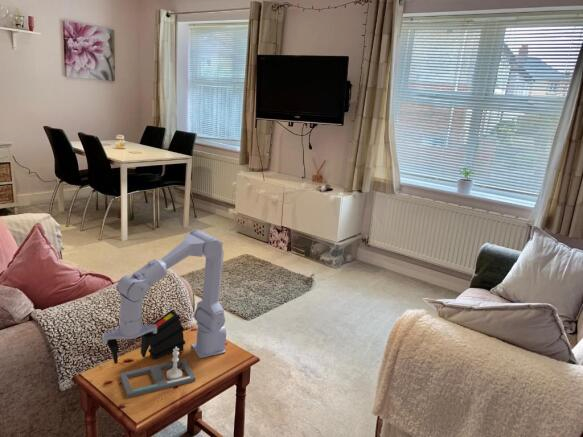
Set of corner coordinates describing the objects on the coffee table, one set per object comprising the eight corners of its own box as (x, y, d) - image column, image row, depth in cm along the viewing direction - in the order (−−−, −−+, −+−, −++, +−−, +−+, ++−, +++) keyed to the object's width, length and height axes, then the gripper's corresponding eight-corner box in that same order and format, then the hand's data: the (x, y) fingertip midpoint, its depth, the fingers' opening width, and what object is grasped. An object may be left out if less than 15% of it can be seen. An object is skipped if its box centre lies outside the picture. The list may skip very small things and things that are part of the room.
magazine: (192, 343, 149) (178, 313, 140) (159, 369, 142) (142, 339, 134) (187, 338, 151) (172, 308, 143) (154, 363, 145) (137, 333, 136)
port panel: (184, 362, 141) (185, 358, 141) (195, 380, 133) (195, 377, 133) (120, 376, 130) (120, 372, 130) (127, 397, 123) (127, 394, 122)
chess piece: (164, 371, 136) (166, 343, 133) (180, 368, 138) (182, 341, 135) (167, 381, 131) (169, 353, 128) (183, 378, 133) (186, 350, 131)
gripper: (152, 305, 128) (150, 345, 132) (100, 314, 120) (99, 356, 124) (160, 317, 122) (157, 358, 126) (105, 327, 114) (104, 370, 118)
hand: (129, 358), depth 125 cm, fingers open, 7 cm apart
